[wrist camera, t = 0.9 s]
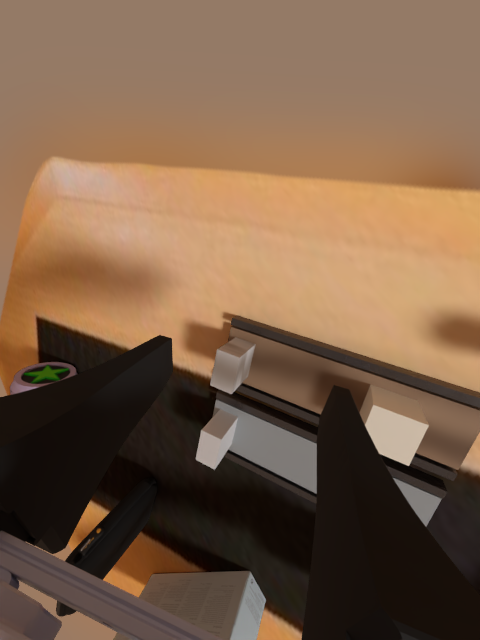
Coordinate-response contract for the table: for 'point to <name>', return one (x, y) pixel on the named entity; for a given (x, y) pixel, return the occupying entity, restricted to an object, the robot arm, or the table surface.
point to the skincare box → (209, 601)
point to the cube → (393, 423)
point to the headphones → (41, 376)
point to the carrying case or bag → (113, 535)
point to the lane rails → (311, 431)
